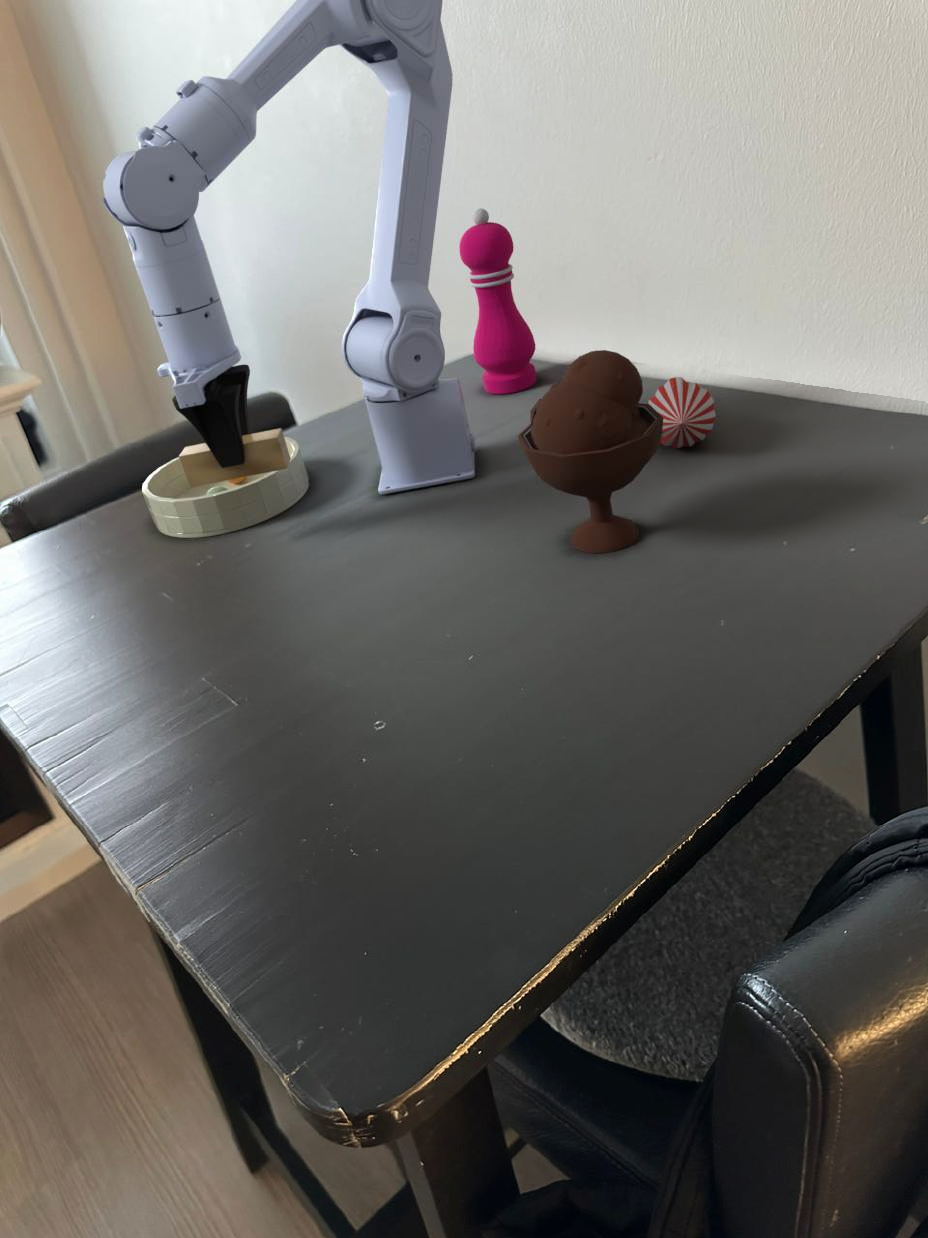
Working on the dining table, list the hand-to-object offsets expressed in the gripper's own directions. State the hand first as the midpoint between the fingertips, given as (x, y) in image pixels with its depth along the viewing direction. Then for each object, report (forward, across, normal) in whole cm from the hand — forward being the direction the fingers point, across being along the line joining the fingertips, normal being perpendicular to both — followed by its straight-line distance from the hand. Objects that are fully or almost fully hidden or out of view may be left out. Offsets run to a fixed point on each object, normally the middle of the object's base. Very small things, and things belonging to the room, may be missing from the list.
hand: (236, 458), depth 91 cm
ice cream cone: (+9, -7, +41) cm, 42 cm away
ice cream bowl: (+9, +12, +30) cm, 34 cm away
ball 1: (+6, -8, -5) cm, 11 cm away
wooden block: (+1, 0, 0) cm, 1 cm away
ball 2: (+6, -16, -5) cm, 18 cm away
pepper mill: (+9, -32, +25) cm, 42 cm away
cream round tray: (+8, -12, -5) cm, 15 cm away
